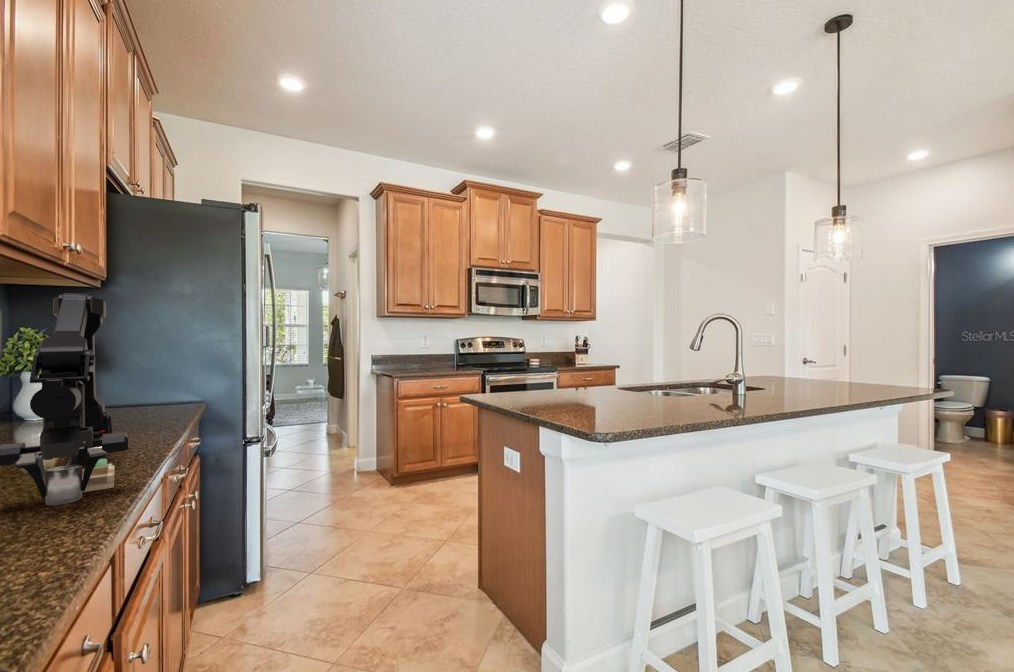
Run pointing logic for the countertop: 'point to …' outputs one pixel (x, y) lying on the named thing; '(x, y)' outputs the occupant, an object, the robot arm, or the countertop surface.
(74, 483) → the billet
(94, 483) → the pallet
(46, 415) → the robot arm
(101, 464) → the button
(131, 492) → the countertop surface
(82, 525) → the countertop surface
